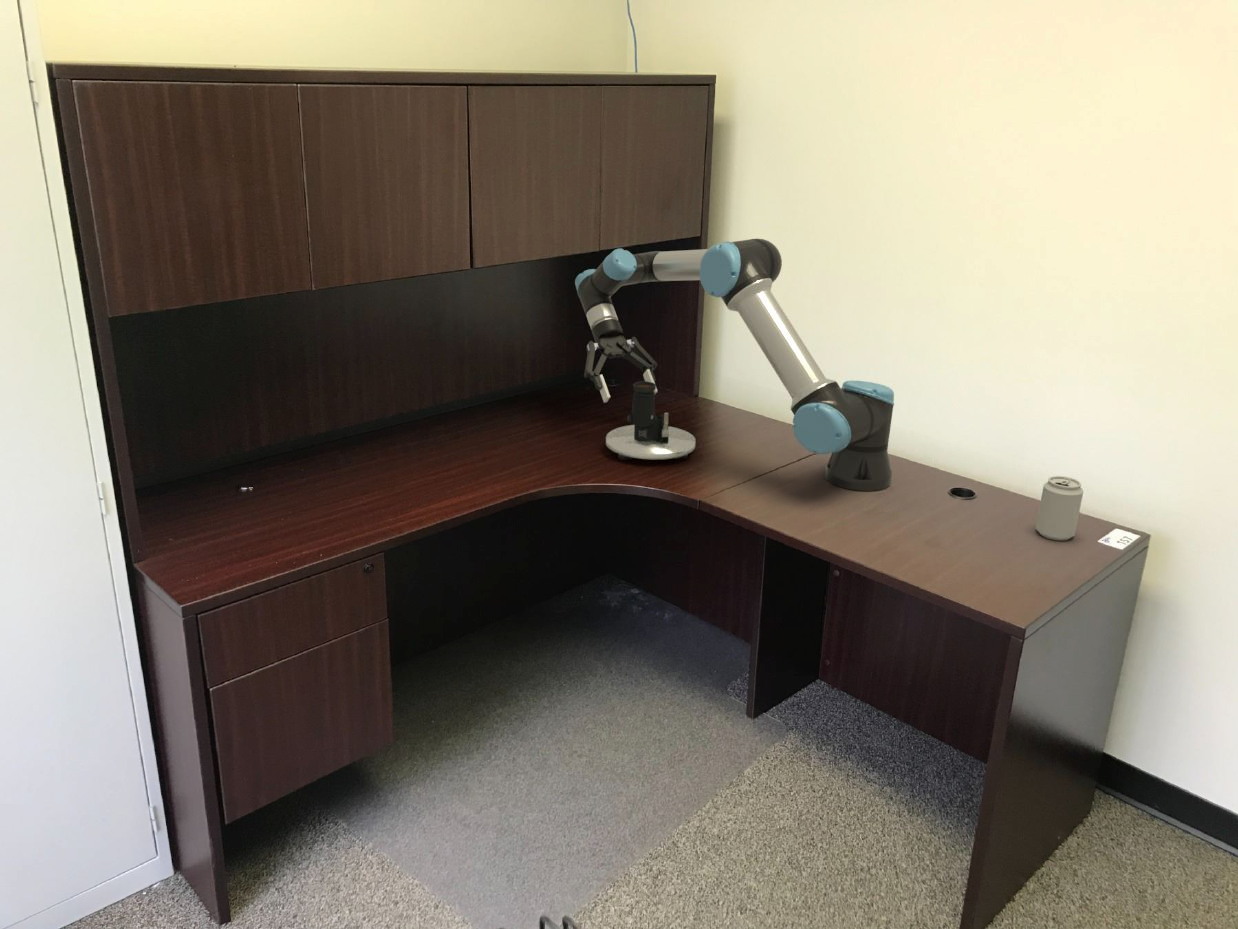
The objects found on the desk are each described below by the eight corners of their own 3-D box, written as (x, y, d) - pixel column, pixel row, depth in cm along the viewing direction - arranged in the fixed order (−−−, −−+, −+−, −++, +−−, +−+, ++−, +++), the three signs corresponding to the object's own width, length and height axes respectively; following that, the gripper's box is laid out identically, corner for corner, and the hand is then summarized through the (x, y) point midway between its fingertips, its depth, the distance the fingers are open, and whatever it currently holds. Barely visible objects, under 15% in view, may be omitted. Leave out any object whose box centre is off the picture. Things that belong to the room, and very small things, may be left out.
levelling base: (713, 455, 248) (714, 442, 247) (644, 473, 235) (644, 459, 234) (655, 431, 264) (655, 419, 263) (587, 447, 251) (588, 434, 250)
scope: (671, 389, 240) (629, 389, 239) (669, 444, 245) (627, 444, 244) (667, 379, 248) (626, 379, 247) (665, 433, 252) (625, 433, 252)
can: (1028, 533, 209) (1038, 479, 205) (1044, 524, 214) (1054, 471, 210) (1064, 545, 204) (1075, 490, 200) (1080, 535, 209) (1091, 481, 205)
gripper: (641, 329, 271) (667, 398, 264) (556, 337, 259) (581, 409, 252) (652, 313, 264) (679, 384, 257) (566, 321, 253) (592, 395, 246)
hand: (631, 396), depth 255 cm, fingers open, 13 cm apart
